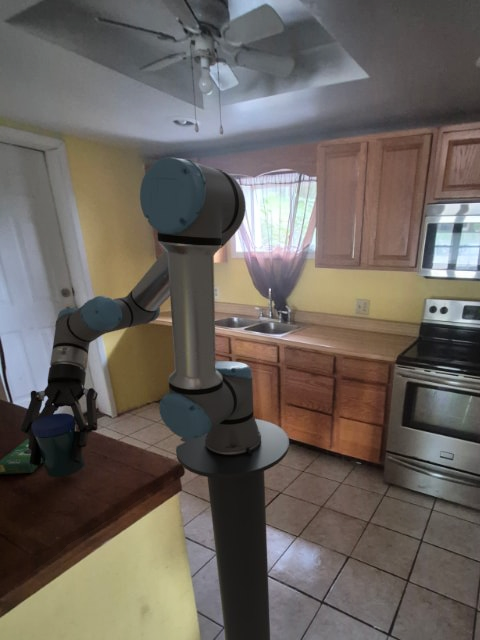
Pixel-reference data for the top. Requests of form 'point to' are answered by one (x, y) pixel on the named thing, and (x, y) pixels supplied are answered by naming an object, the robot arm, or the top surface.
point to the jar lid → (53, 425)
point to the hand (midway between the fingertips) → (55, 462)
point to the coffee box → (18, 460)
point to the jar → (59, 454)
